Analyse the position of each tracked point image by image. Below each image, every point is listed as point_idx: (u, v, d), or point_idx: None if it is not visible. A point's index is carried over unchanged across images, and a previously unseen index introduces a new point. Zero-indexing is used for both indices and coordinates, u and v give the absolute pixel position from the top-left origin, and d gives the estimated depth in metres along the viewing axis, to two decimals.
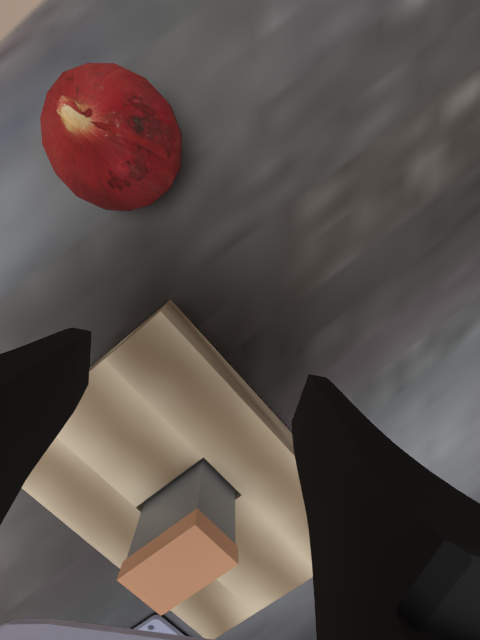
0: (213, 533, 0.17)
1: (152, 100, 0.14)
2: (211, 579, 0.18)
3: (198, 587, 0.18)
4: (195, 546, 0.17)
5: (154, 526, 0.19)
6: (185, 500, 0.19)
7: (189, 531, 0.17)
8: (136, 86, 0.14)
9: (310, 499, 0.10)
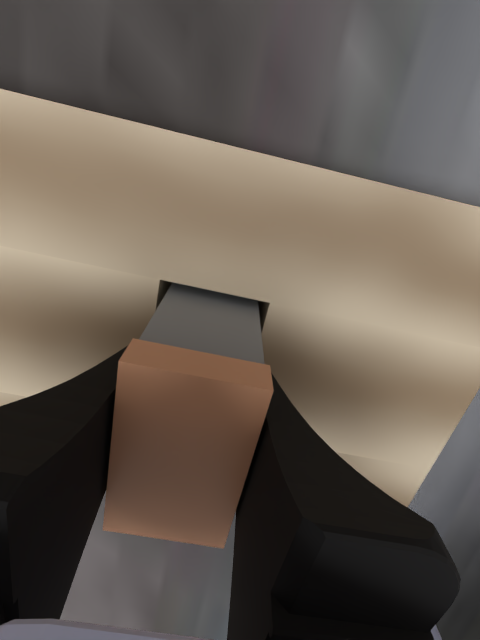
0: (185, 362, 0.08)
1: None
2: (250, 447, 0.08)
3: (239, 474, 0.08)
4: (162, 404, 0.07)
5: None
6: None
7: (122, 381, 0.07)
8: None
9: None
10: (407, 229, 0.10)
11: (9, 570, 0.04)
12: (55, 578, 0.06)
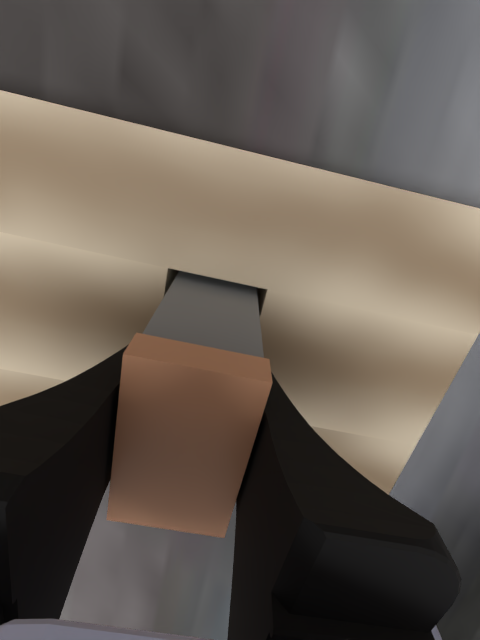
0: (187, 356, 0.08)
1: None
2: (249, 438, 0.08)
3: (240, 464, 0.09)
4: (164, 395, 0.08)
5: None
6: None
7: (126, 373, 0.07)
8: None
9: None
10: (390, 222, 0.12)
11: (8, 570, 0.04)
12: (55, 578, 0.06)
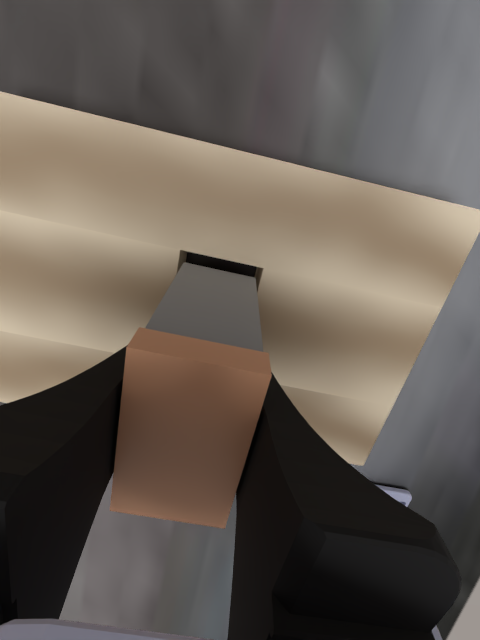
0: (188, 349, 0.08)
1: None
2: (250, 430, 0.08)
3: (240, 456, 0.09)
4: (167, 388, 0.08)
5: None
6: None
7: (129, 366, 0.08)
8: None
9: (240, 487, 0.09)
10: (365, 211, 0.14)
11: (8, 569, 0.04)
12: (54, 578, 0.06)
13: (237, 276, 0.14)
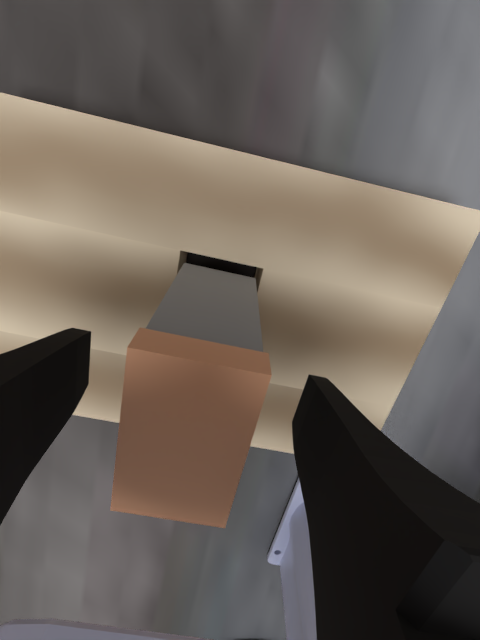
0: (189, 349, 0.08)
1: None
2: (249, 430, 0.08)
3: (240, 455, 0.09)
4: (167, 388, 0.08)
5: None
6: None
7: (130, 366, 0.08)
8: None
9: (310, 499, 0.10)
10: (364, 212, 0.14)
11: None
12: None
13: (237, 276, 0.14)
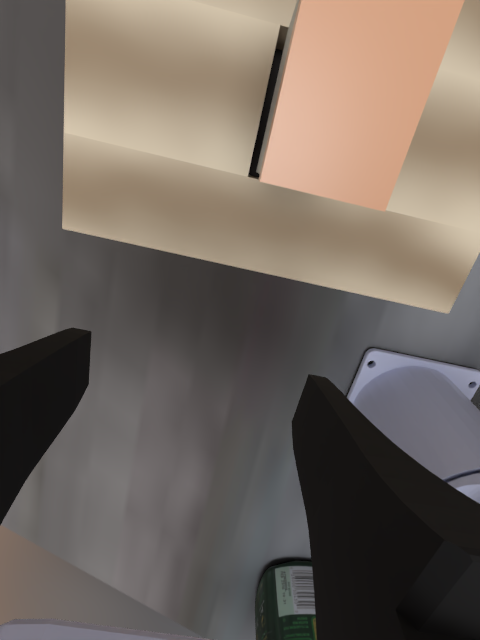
0: None
1: None
2: (445, 36, 0.07)
3: (425, 83, 0.08)
4: None
5: None
6: None
7: None
8: None
9: (310, 499, 0.10)
10: None
11: None
12: None
13: None
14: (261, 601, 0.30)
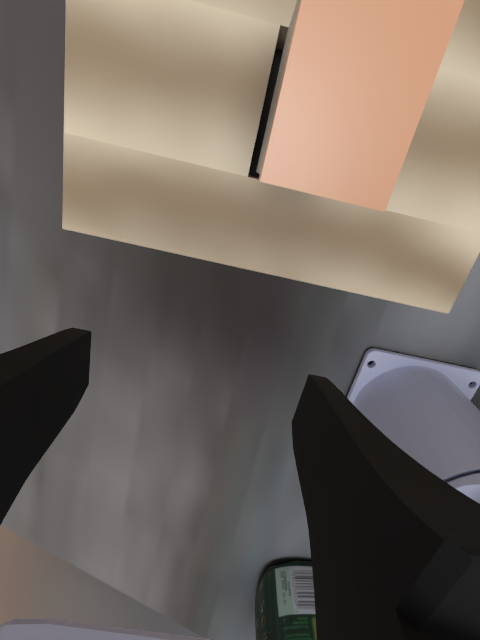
0: None
1: None
2: (445, 36, 0.07)
3: (425, 83, 0.08)
4: None
5: None
6: None
7: None
8: None
9: (310, 499, 0.10)
10: None
11: None
12: None
13: None
14: (261, 601, 0.30)
